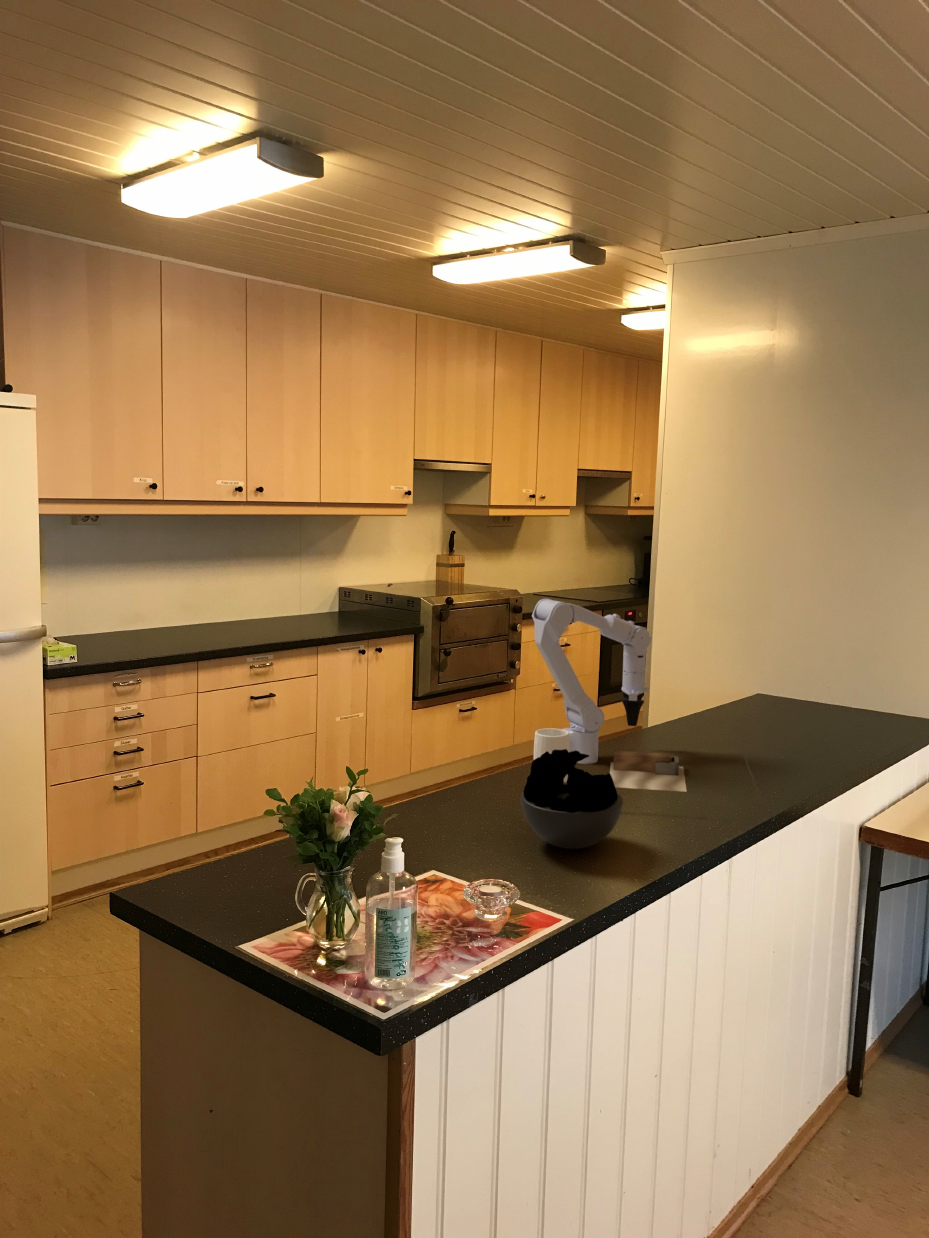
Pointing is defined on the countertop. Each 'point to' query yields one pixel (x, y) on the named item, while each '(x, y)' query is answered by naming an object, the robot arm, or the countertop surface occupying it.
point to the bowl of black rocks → (569, 801)
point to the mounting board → (648, 780)
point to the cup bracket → (668, 767)
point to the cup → (551, 742)
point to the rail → (638, 760)
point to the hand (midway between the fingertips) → (632, 722)
